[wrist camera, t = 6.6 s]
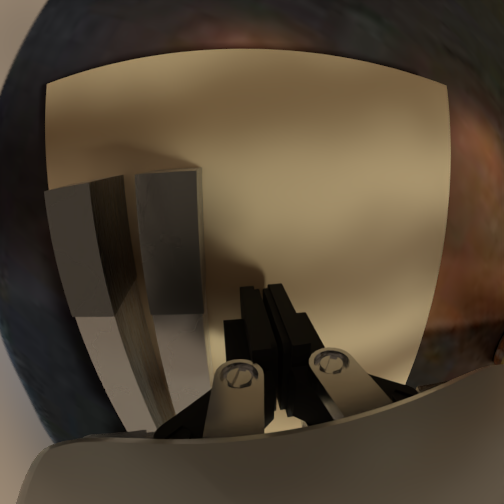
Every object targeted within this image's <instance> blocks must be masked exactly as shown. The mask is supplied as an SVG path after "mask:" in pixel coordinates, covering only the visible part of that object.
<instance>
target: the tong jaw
mask: <svg viewBox="0 0 504 504" xmlns="http://www.w3.org/2000/svg"><path fill="white" fill-rule="evenodd" d="M135 191H136V206H137V218H138V229H139V239H140V248H141V256H142V264H143V271H144V278H145V285H146V291H147V297H148V303H149V309H150V314H151V315H152V316H153V322H154V327H155V332H156V337H157V342H158V346H159V351H160V355H161V360H162V364H163V368H164V372H165V377H166V381H167V384H168V388H169V392H170V396H171V399H172V403H173V406H174V410H175V413H176V414H178V413H179V412H181V411H182V410H183V409H185V408H186V407H188V406H189V405H190V404H192V403H193V402H194V401H196V400H197V399H198V398H200V397H201V396H202V395H204V394H205V393H206V392H208V391H209V390H210V389H212V384H213V379H214V375H213V366H212V356H211V346H210V335H209V324H208V312H207V299H206V285H205V284H206V264H205V245H204V222H203V191H202V167H195V168H176V169H161V170H154V171H149V172H144V173H140V174H135Z"/></svg>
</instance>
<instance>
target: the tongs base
mask: <svg viewBox="0 0 504 504" xmlns="http://www.w3.org/2000/svg"><path fill="white" fill-rule="evenodd" d="M44 196H45V204H46V211H47V218H48V224H49V229H50V235H51V240H52V245H53V249H54V254H55V258H56V262H57V267H58V270H59V274H60V278H61V282H62V285H63V289H64V292H65V296H66V299H67V302H68V305H69V309H70V312H71V315H72V317H75V318H76V321H77V324H78V327H79V329H80V332H81V335H82V337H83V340H84V343H85V345H86V348H87V350H88V353H89V355H90V358H91V360H92V362H93V365H94V367H95V369H96V372H97V374H98V376H99V378H100V380H101V382H102V385H103V387H104V389H105V391H106V393H107V395H108V397H109V399H110V401H111V403H112V405H113V407H114V408H115V410H116V412H117V414H118V416H119V418H120V419H121V421H122V423H123V425H124V427H125V428H126V430H127V432H130V431H138V430H147V432H155V431H156V430H157V429H158V428H159V427H160V426H161V425H162V424H164V423H165V422H166V421H168V420H169V419H171V418H172V417H174V416H175V415H174V412H173V409H172V406H171V403H170V401H169V398H168V395H167V392H166V389H165V386H164V383H163V379H162V376H161V373H160V370H159V367H158V363H157V360H156V356H155V353H154V349H153V346H152V342H151V338H150V334H149V331H148V327H147V323H146V319H145V314H144V310H143V306H142V301H141V297H140V292H139V287H138V283H137V271H136V266H135V260H134V255H133V249H132V242H131V236H130V229H129V222H128V214H127V206H126V197H125V187H124V175H118V176H111V177H105V178H99V179H93V180H87V181H83V182H79V183H74V184H70V185H66V186H62V187H58V188H55V189H51V190H47V191H44Z"/></svg>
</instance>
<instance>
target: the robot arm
mask: <svg viewBox="0 0 504 504" xmlns="http://www.w3.org/2000/svg"><path fill="white" fill-rule="evenodd" d="M240 306H241V319H233V320H223V324H224V339H225V353H226V362H225V363H223V364H222V365H220V366H219V367H218V368H217V369H216V372H215V374H214V379H213V384H212V389H210V390H209V391H208V392H206V393H205V394H204V395H202V396H201V397H200V398H198V399H197V400H196V401H194V402H193V403H192V404H190V405H189V406H188V407H186V408H185V409H183V410H182V411H181V412H179V413H178V414H176V415H175V416H174V417H172V418H171V419H169V420H168V421H166V422H165V423H164V424H162V425H161V426H160V427H159V428H158V429H157V430H156V431H155V432H147V430H138V431H130V432H121V433H110V434H96V435H89V436H85V437H84V438H80V439H74V440H68V441H63V442H59V443H56V444H53V445H51V446H49V447H47V448H45V449H43V450H42V451H41V452H40V453H39V454H38V455H37V457H36V458H35V459H34V461H33V463H32V464H31V466H30V468H29V470H28V472H27V474H26V476H25V479H24V481H23V484H22V487H21V490H20V493H19V496H18V499H17V503H16V504H504V364H499V365H491V366H487V367H483V368H480V369H477V370H475V371H472V372H469V373H467V374H465V375H462V376H460V377H457V378H455V379H453V380H450V381H445V382H440V383H435V384H429V385H423V386H417V389H416V390H415V389H414V388H412V387H410V386H407V385H404V384H400V383H397V382H394V381H390V380H387V379H384V378H380V377H377V376H374V375H371V374H368V373H367V372H366V371H365V370H364V369H363V368H362V367H361V366H360V364H359V363H358V362H357V361H356V360H355V359H354V358H353V357H352V356H351V355H350V354H349V353H348V352H346V351H344V350H342V349H339V348H331V347H327V348H325V346H324V345H323V343H322V341H321V339H320V337H319V335H318V334H317V332H316V330H315V328H314V326H313V324H312V323H311V321H310V319H309V317H308V315H307V314H306V312H301V313H296V311H295V309H294V307H293V305H292V303H291V301H290V299H289V297H288V295H287V293H286V291H285V289H284V287H283V285H282V283H279V284H268V285H267V288H263V299H262V296H261V293H260V290H259V289H254V286H245V287H240ZM277 401H278V404H279V408H280V410H286V414H287V417H293V416H294V417H296V418H298V419H300V420H301V425H302V428H296V429H290V430H284V431H278V432H271V433H265V432H264V429H265V428H266V427H267V426H268V425H269V424H270V423H271V422H272V421H273V419H274V411H276V405H277Z"/></svg>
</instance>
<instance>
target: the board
mask: <svg viewBox="0 0 504 504" xmlns="http://www.w3.org/2000/svg"><path fill="white" fill-rule="evenodd" d="M45 143H46V163H47V176H48V187H49V190H51V189H55V188H58V187H62V186H66V185H70V184H74V183H79V182H83V181H87V180H93V179H99V178H105V177H111V176H118V175H124V187H125V197H126V206H127V214H128V222H129V229H130V236H131V242H132V249H133V255H134V260H135V266H136V271H137V283H138V287H139V292H140V297H141V301H142V306H143V310H144V314H145V319H146V323H147V327H148V331H149V334H150V338H151V342H152V346H153V349H154V353H155V356H156V360H157V363H158V367H159V370H160V373H161V376H162V379H163V383H164V386H165V389H166V392H167V395H168V398H169V401H170V403H171V406H172V409H173V412H174V415H176V413H175V410H174V406H173V403H172V399H171V396H170V392H169V388H168V384H167V381H166V377H165V372H164V368H163V364H162V360H161V355H160V351H159V346H158V342H157V337H156V332H155V327H154V322H153V316H152V315H151V314H150V309H149V303H148V297H147V291H146V285H145V278H144V271H143V264H142V256H141V248H140V239H139V229H138V218H137V206H136V191H135V174H140V173H144V172H149V171H154V170H161V169H176V168H195V167H202V191H203V222H204V245H205V264H206V284H205V285H206V299H207V312H208V324H209V335H210V346H211V356H212V366H213V375H214V374H215V372H216V369H217V368H218V367H219V366H220V365H222V364H223V363H225V362H226V353H225V339H224V324H223V320H233V319H241V306H240V287H245V286H254V289H259V290H260V293H261V296H262V299H263V288H267V285H268V284H279V283H282V285H283V287H284V289H285V291H286V293H287V295H288V297H289V299H290V301H291V303H292V305H293V307H294V309H295V311H296V313H301V312H306V314H307V315H308V317H309V319H310V321H311V323H312V324H313V326H314V328H315V330H316V332H317V334H318V335H319V337H320V339H321V341H322V343H323V345H324V346H325V348H327V347H331V348H339V349H342V350H344V351H346V352H348V353H349V354H350V355H351V356H352V357H353V358H354V359H355V360H356V361H357V362H358V363H359V364H360V366H361V367H362V368H363V369H364V370H365V371H366V372H367V373H368V374H371V375H374V376H377V377H380V378H384V379H387V380H390V381H394V382H397V383H400V384H404V385H405V383H406V381H407V378H408V376H409V373H410V371H411V368H412V365H413V362H414V360H415V357H416V354H417V351H418V348H419V345H420V342H421V339H422V336H423V332H424V329H425V326H426V322H427V319H428V315H429V311H430V308H431V304H432V300H433V296H434V291H435V287H436V282H437V278H438V273H439V268H440V262H441V257H442V251H443V245H444V238H445V230H446V222H447V213H448V202H449V188H450V159H451V148H450V119H449V106H448V95H447V86H446V85H443V84H440V83H438V82H435V81H432V80H429V79H426V78H423V77H420V76H417V75H414V74H411V73H408V72H404V71H401V70H397V69H394V68H390V67H386V66H382V65H378V64H374V63H369V62H365V61H360V60H355V59H350V58H344V57H338V56H332V55H325V54H318V53H309V52H300V51H288V50H272V49H215V50H199V51H188V52H178V53H170V54H162V55H156V56H149V57H144V58H138V59H133V60H128V61H123V62H119V63H114V64H110V65H106V66H102V67H98V68H95V69H91V70H87V71H84V72H81V73H77V74H74V75H71V76H68V77H65V78H62V79H59V80H56V81H54V82H51V83H48V84H47V90H46V110H45ZM296 428H302V425H301V420H300V419H298V418H296V417H294V416H293V417H287V414H286V410H280V408H279V404H278V401H277V405H276V411H274V419H273V421H272V422H271V423H270V424H269V425H268V426H267V427H266V428H265V429H264V432H265V433H271V432H278V431H284V430H290V429H296Z"/></svg>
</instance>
